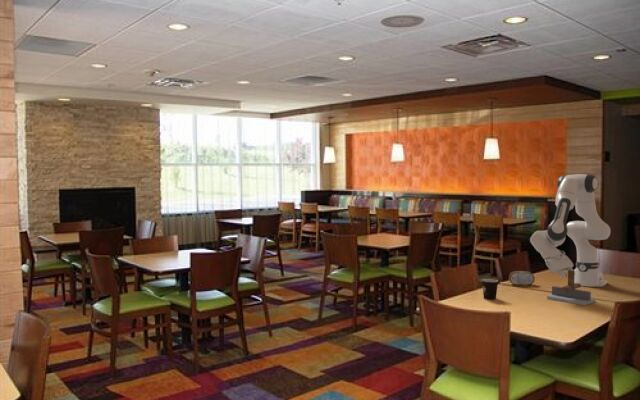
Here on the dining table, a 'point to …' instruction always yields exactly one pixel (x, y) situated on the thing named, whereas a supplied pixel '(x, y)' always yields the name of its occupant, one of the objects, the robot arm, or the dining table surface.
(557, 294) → the ridge stand
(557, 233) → the robot arm
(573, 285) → the brown t-shaped block
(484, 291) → the coffee mug
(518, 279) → the tin
